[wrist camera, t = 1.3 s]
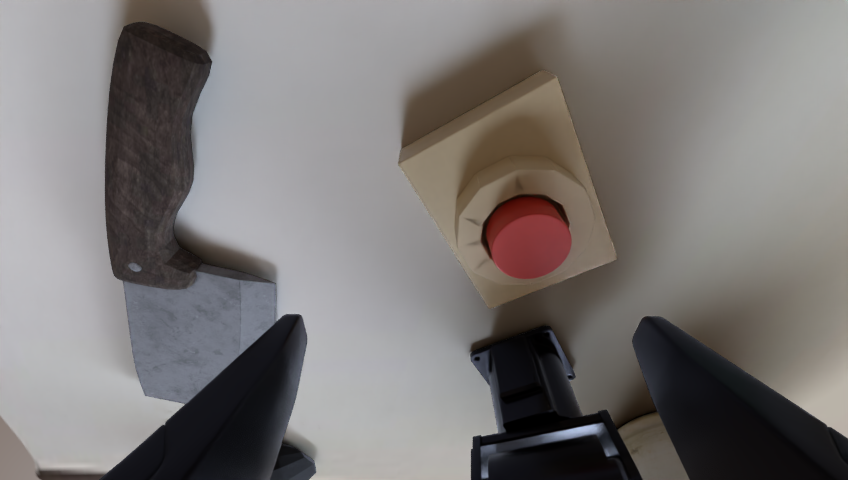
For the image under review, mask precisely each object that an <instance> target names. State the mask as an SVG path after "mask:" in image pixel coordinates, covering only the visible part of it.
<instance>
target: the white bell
mask: <svg viewBox="0 0 848 480" xmlns="http://www.w3.org/2000/svg"><path fill="white" fill-rule="evenodd" d="M618 432H619V434H620V436H621V438H622V440H623V442H624V443H625V445H626V447H627V449H628V451H629V453H630V455H631V457H632V459H633V461H634V463H635V464H636V466H637V468H638V470H639V472H640V475H641V477H642V479H643V480H689V477H688V475H687V473H686V471H685V469H684V467H683V465H682V463H681V460H680V458H679V456H678V454H677V452H676V450H675V448H674V446H673V443H672V441H671V439H670V437H669V435H668V433H667V431H666V429H665V427H664V424H663V422H662V420H661V418H660V416H659V414H658V412H654V413H650V414H647V415H644V416H641V417H638V418H636V419H634V420H632V421H630V422H628V423H627V424H625V425H624V426H622V427H621V428H619V429H618Z"/></svg>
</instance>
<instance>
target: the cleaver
mask: <svg viewBox="0 0 848 480" xmlns="http://www.w3.org/2000/svg"><path fill="white" fill-rule="evenodd" d="M211 65H212V61H211V59H210V57H209V55H208V54H207V52H206V51H205V50H203V49H202V48H200V47H199V46H197V45H196V44H194V43H192V42H190V41H188V40H186V39H184V38H182V37H180V36H178V35H176V34H174V33H172V32H170V31H168V30H166V29H163V28H161V27H159V26H157V25H153V24H150V23H147V22H136V23H132V24H129V25H127V26H124V28H123V30H122V32H121V35H120V37H119V40H118V43H117V48H116V53H115V58H114V63H113V69H112V76H111V83H110V91H109V102H108V115H107V132H106V155H105V213H106V228H107V239H108V247H109V254H110V260H111V266H112V270H113V274H114V276H115V277H116V278H117V279H119V280H122V281H123V284H124V291H125V299H126V307H127V315H128V322H129V330H130V338H131V345H132V352H133V358H134V362H135V367H136V371H137V374H138V377H139V381H140V383H141V386H142V389H143V392H144V394H145V396H149V397H154V398H159V399H164V400H169V401H174V402H179V403H184V404H186V403H187V402H188V401H190V400H191V399H192V398H193V397H194V396H195V395H196V394H197V393H198V392H199V391H201V390H202V389H203V388H204V387H205V386H206V385H207V384H208V383H209V382H211V381H212V380H213V379H214V378H215V377H216V376H217V375H218V374H219V373H220V372H222V371H223V370H224V369H225V368H226V367H227V366H228V365H229V364H230V363H232V362H233V361H234V360H235V359H236V358H237V357H238V356H239V355H240V354H241V353H243V352H244V351H245V350H246V349H247V348H248V347H249V346H250V345H251V344H253V343H254V342H255V341H256V340H257V339H258V338H259V337H260V336H261V335H262V334H264V333H265V332H266V331H267V330H268V329H269V328H270V327H271V326H272V325H273V324H275V313H276V283H273V282H271V281H268V280H265V279H262V278H259V277H256V276H253V275H250V274H247V273H244V272H240V271H235V270H231V269H226V268H221V267H217V266H212V265H207V264H203V263H202V261H201V259H200V258H198V257H196V256H194V255H193V254H191V253H189V252H187V251H185V250H183V249H181V248H180V247H179V245H178V243H177V241H176V239H175V237H174V230H173V224H174V221H175V218H176V215H177V213H178V211H179V209H180V207H181V206H182V204H183V202H184V200H185V199H186V197H187V195H188V194H189V191H190V189H191V186H192V183H193V177H194V163H193V155H192V146H191V137H190V130H191V120H192V113H193V111H194V108H195V106H196V103H197V101H198V98H199V96H200V93H201V91H202V89H203V87H204V85H205V83H206V81H207V79H208V76H209V74H210V69H211Z"/></svg>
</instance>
